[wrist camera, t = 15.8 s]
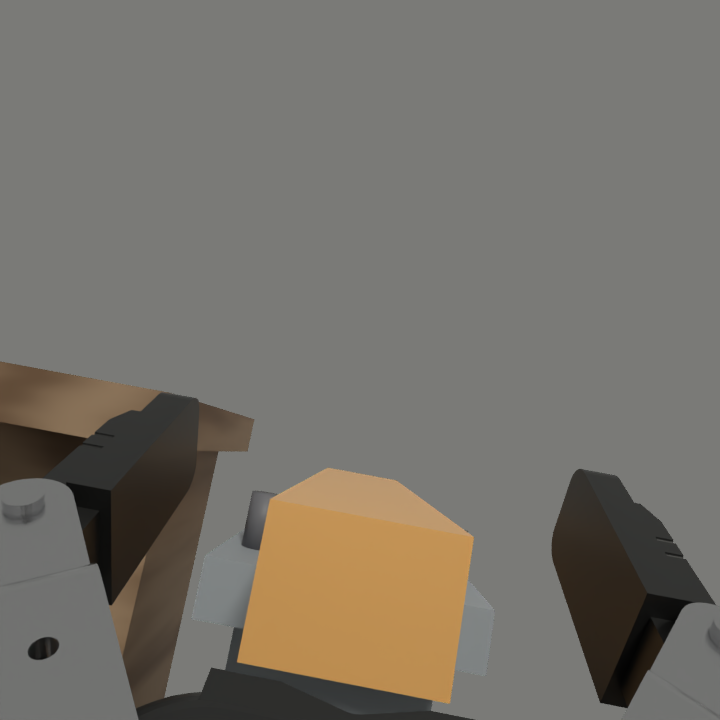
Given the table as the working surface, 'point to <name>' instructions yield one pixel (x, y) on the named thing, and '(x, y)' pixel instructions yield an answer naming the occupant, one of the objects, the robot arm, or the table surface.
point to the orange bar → (359, 587)
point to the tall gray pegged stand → (229, 607)
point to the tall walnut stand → (176, 540)
